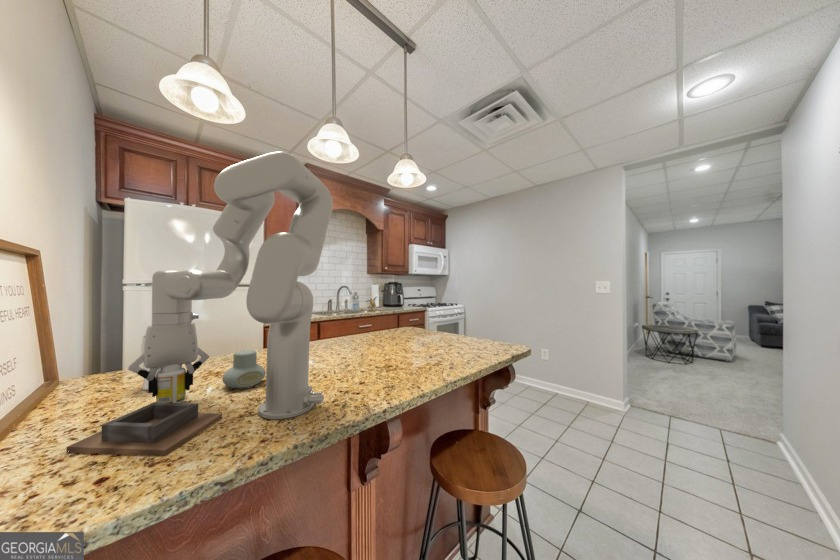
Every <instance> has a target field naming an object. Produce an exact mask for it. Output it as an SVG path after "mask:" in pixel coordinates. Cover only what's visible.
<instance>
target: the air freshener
mask: <svg viewBox="0 0 840 560" xmlns="http://www.w3.org/2000/svg"><path fill="white" fill-rule="evenodd" d="M232 363H233V364H232V367H230V368H229V369H227V370H226V371H225V372H224V373H223V375H222V382H223V384H224V385H225V386H226V387H228V388H231V389H236V388H237V389H240V390H242V389H241V388H246V389H249V388H248V387H250V388H252V387H254V386H256V385H257V384H259V383H260V382H262V381H263V380H264V378H266V377H265V376H266V369H265V367H263V366H262V365H261V364H258V363H257V351H256V350H254V349H245V350H243V349H242V350H239V351H236V352H234V353H233V362H232ZM251 386H252V387H251Z"/></svg>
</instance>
